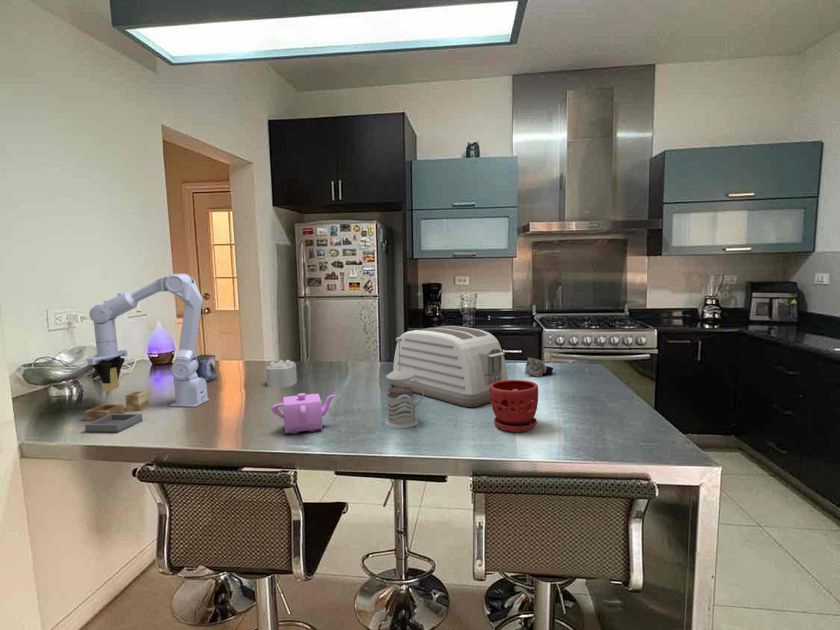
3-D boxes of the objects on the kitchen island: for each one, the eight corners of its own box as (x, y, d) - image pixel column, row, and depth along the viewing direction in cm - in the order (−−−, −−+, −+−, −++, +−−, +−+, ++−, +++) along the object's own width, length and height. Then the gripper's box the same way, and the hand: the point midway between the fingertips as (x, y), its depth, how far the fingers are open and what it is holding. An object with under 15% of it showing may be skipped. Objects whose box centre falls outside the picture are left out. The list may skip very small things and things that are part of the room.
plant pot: (537, 419, 134) (537, 379, 133) (538, 436, 121) (538, 391, 120) (491, 417, 137) (491, 377, 136) (488, 433, 124) (487, 389, 123)
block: (149, 407, 155) (147, 391, 155) (139, 411, 151) (138, 395, 150) (136, 407, 156) (135, 391, 155) (126, 411, 151) (125, 395, 151)
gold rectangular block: (118, 387, 155) (116, 367, 154) (111, 390, 152) (109, 369, 151) (110, 387, 155) (107, 367, 155) (102, 390, 152) (100, 369, 151)
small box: (200, 386, 182) (198, 359, 181) (186, 385, 183) (184, 359, 182) (217, 379, 192) (215, 354, 191) (203, 379, 193) (201, 354, 192)
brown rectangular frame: (124, 413, 149) (123, 404, 149) (106, 421, 142) (105, 411, 142) (103, 413, 150) (103, 404, 150) (85, 420, 143) (84, 411, 142)
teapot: (335, 417, 140) (334, 385, 139) (341, 433, 127) (339, 397, 126) (273, 425, 135) (271, 391, 134) (272, 442, 122) (270, 404, 121)
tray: (142, 421, 141) (142, 414, 141) (117, 433, 131) (116, 425, 131) (112, 420, 142) (111, 413, 142) (85, 432, 132) (84, 424, 132)
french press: (386, 416, 140) (383, 334, 137) (424, 416, 139) (423, 333, 137) (382, 428, 130) (379, 340, 127) (424, 427, 130) (422, 339, 127)
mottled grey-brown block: (548, 377, 192) (553, 380, 182) (521, 372, 193) (524, 374, 183) (552, 361, 192) (557, 363, 182) (524, 356, 193) (528, 357, 183)
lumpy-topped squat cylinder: (264, 387, 177) (262, 365, 176) (275, 379, 190) (274, 358, 189) (291, 387, 177) (289, 364, 176) (300, 378, 190) (299, 357, 189)
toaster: (476, 412, 142) (475, 340, 140) (386, 386, 175) (384, 327, 173) (520, 396, 157) (520, 331, 155) (430, 375, 191) (429, 321, 188)
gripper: (112, 337, 159) (116, 376, 161) (76, 345, 145) (81, 387, 147) (131, 337, 159) (135, 376, 160) (97, 344, 144) (101, 387, 146)
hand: (110, 381), depth 153 cm, fingers closed on gold rectangular block, 3 cm apart
